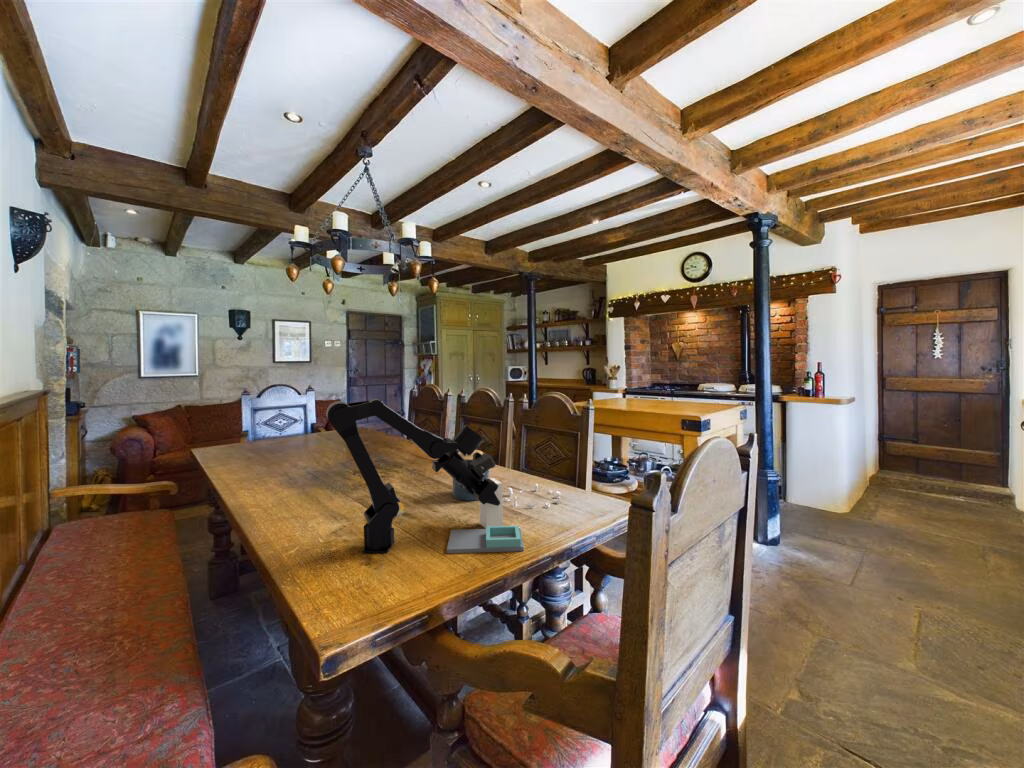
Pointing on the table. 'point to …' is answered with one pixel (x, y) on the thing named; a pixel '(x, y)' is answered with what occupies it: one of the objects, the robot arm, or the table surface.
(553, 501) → the game piece set
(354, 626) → the table surface
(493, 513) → the column
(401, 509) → the bread roll
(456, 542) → the baseplate
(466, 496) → the canister
